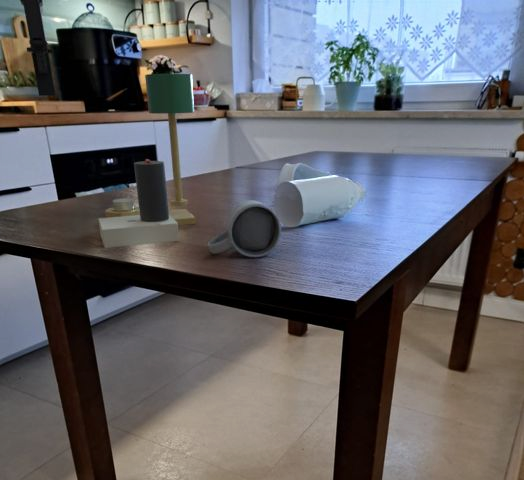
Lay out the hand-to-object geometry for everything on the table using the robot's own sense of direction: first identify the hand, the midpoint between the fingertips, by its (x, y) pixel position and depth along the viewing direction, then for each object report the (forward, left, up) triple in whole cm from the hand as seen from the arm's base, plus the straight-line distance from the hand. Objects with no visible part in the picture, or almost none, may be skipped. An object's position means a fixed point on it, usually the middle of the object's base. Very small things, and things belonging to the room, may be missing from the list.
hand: (47, 95), depth 91 cm
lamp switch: (+10, -8, -19) cm, 23 cm away
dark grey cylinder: (+14, -19, -19) cm, 30 cm away
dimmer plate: (+11, -19, -22) cm, 31 cm away
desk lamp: (+20, -7, -19) cm, 29 cm away
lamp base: (+15, -7, -22) cm, 28 cm away
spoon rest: (+55, +14, -22) cm, 61 cm away
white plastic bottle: (+45, -18, -22) cm, 53 cm away
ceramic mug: (+25, -34, -22) cm, 48 cm away
